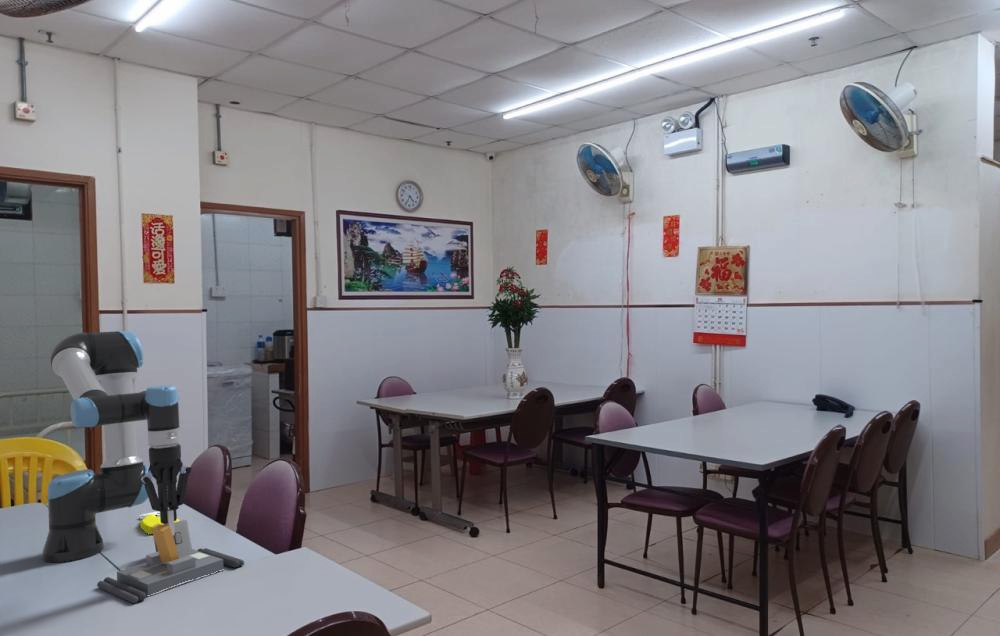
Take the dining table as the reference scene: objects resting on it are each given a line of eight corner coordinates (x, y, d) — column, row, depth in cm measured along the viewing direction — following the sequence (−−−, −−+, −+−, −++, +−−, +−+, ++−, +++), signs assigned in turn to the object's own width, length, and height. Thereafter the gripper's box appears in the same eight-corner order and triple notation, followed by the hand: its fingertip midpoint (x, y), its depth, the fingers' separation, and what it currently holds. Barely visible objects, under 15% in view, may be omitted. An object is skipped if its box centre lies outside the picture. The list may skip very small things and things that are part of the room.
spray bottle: (147, 537, 216) (131, 522, 235) (184, 529, 223) (165, 515, 242) (147, 528, 216) (130, 513, 235) (184, 520, 223) (165, 507, 242)
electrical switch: (160, 561, 192) (157, 528, 193) (151, 559, 196) (149, 526, 196) (192, 552, 200) (190, 519, 200) (184, 550, 203) (181, 518, 203)
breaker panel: (117, 583, 177) (116, 562, 177) (191, 559, 193) (190, 540, 193) (148, 596, 167) (147, 574, 167) (223, 570, 183) (222, 550, 183)
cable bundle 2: (196, 556, 195) (196, 549, 195) (207, 553, 198) (207, 546, 198) (234, 569, 184) (234, 562, 184) (246, 565, 187) (245, 558, 187)
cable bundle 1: (97, 588, 174) (96, 580, 174) (111, 583, 177) (111, 576, 177) (133, 605, 163) (133, 596, 163) (148, 600, 165) (147, 591, 165)
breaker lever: (161, 563, 181) (150, 527, 179) (168, 559, 183) (157, 523, 181) (174, 568, 177) (163, 531, 175) (181, 563, 179) (170, 527, 177)
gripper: (147, 451, 172) (152, 544, 173) (195, 441, 183) (200, 530, 183) (132, 448, 177) (137, 539, 177) (180, 439, 187) (185, 525, 187)
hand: (169, 534), depth 180 cm, fingers closed
